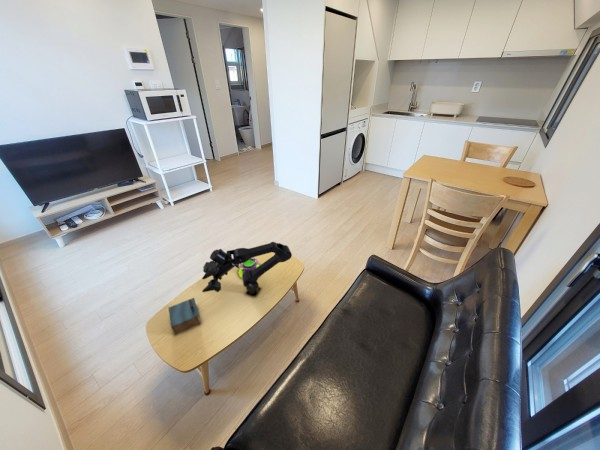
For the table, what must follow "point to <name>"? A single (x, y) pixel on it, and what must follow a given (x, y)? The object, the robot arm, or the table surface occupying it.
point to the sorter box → (186, 325)
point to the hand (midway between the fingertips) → (202, 285)
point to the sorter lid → (183, 312)
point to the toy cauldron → (248, 266)
